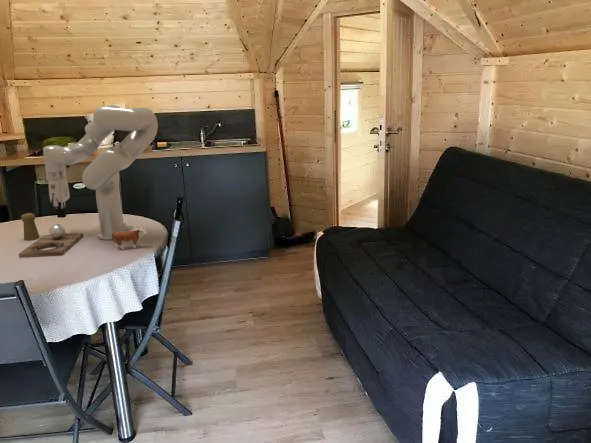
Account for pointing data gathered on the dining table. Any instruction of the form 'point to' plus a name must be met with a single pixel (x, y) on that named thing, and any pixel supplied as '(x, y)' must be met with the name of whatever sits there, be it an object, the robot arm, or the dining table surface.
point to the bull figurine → (128, 237)
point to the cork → (29, 227)
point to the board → (51, 245)
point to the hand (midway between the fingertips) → (61, 216)
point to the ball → (57, 231)
